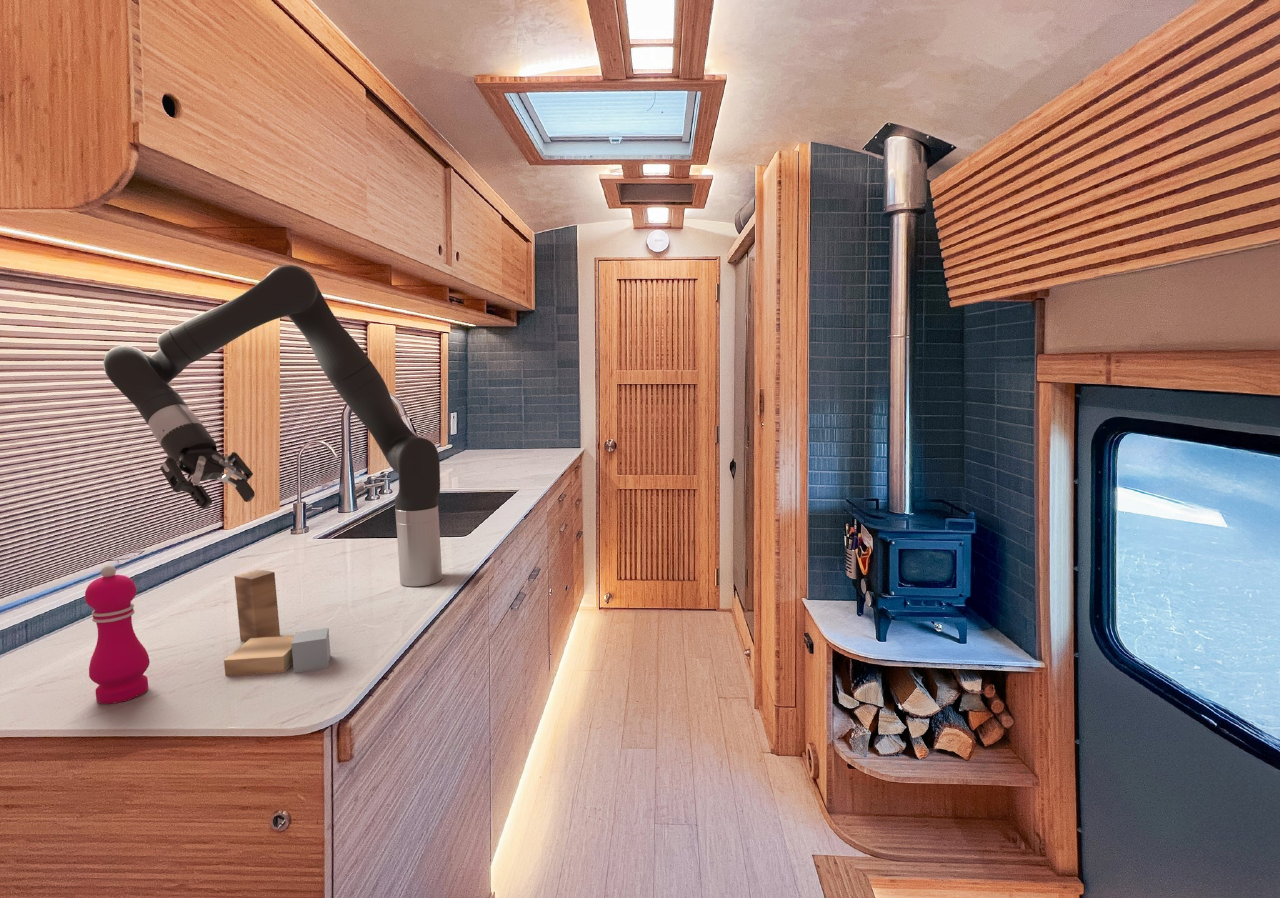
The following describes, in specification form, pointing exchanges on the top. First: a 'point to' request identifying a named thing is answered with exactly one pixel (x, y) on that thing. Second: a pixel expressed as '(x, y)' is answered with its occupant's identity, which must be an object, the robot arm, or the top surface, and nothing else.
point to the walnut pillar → (257, 605)
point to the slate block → (311, 650)
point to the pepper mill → (116, 640)
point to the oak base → (261, 656)
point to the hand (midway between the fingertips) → (230, 502)
